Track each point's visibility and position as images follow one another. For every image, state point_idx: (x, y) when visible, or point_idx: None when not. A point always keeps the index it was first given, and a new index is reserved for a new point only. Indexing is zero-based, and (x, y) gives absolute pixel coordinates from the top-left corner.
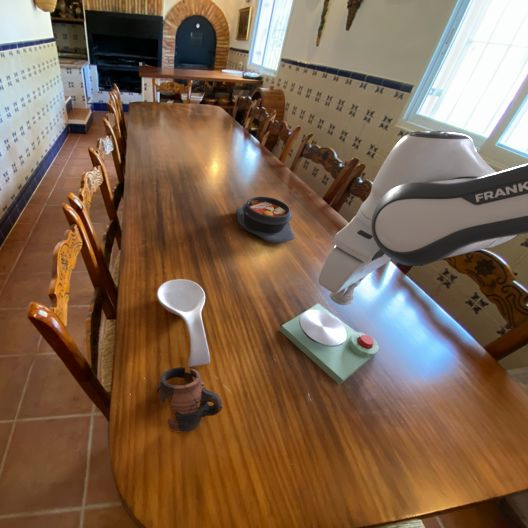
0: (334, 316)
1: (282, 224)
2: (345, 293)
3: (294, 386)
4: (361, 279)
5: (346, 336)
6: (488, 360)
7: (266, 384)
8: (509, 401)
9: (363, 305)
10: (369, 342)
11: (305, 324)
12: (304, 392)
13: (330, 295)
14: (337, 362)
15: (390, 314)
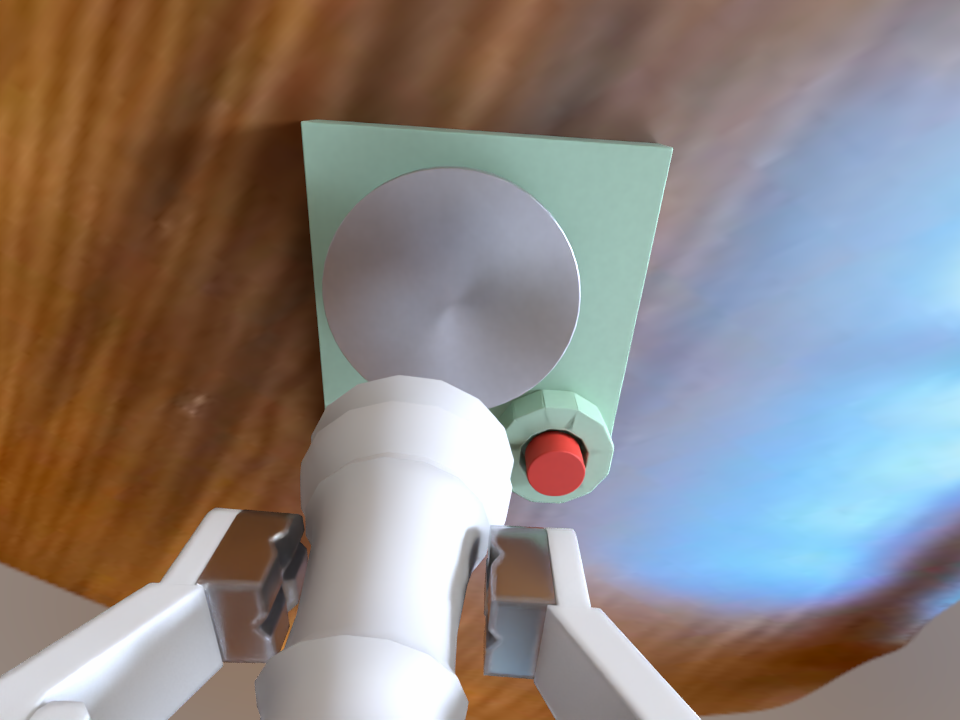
0: (638, 273)
1: None
2: (298, 592)
3: (168, 354)
4: (548, 698)
5: (552, 375)
6: (874, 653)
7: (54, 284)
8: (730, 698)
9: (895, 303)
10: (545, 485)
11: (373, 235)
12: (189, 387)
13: (330, 414)
14: None
15: (912, 408)
